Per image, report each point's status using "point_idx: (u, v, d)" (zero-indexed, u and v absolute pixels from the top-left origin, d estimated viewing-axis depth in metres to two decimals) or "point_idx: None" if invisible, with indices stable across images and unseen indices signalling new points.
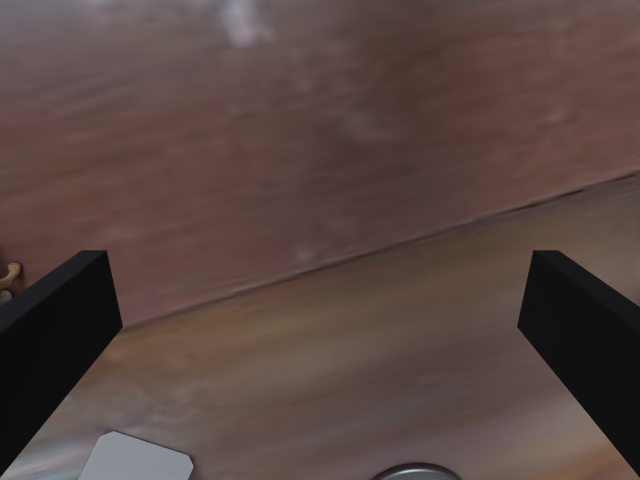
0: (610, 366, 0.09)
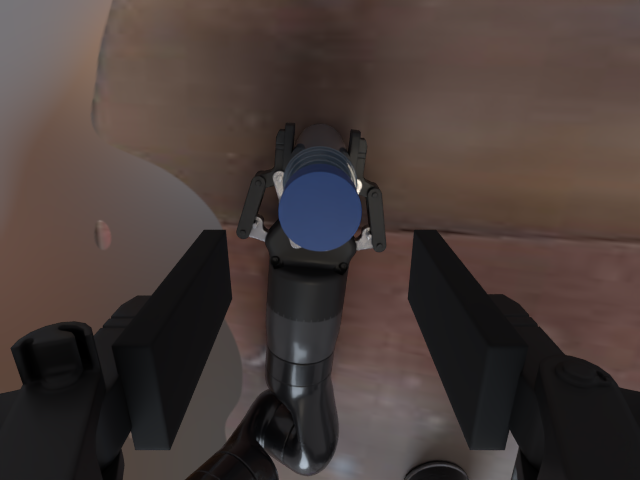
0: (442, 321, 0.10)
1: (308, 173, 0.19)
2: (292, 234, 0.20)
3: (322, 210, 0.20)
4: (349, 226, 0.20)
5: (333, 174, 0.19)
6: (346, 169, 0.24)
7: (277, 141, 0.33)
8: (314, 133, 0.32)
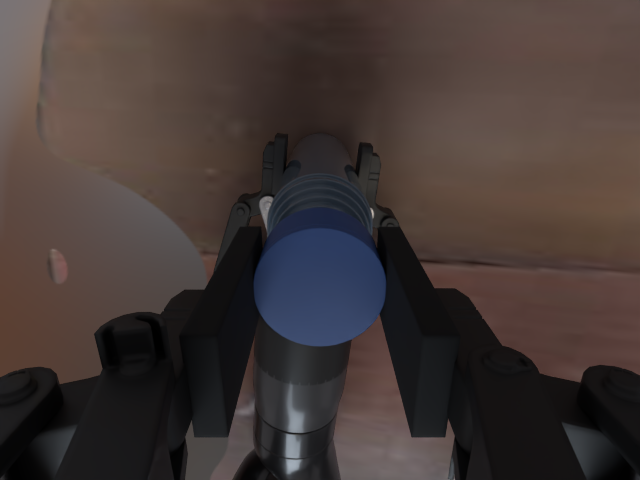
0: (395, 314, 0.11)
1: (300, 230, 0.12)
2: (276, 322, 0.13)
3: (323, 287, 0.12)
4: (366, 310, 0.13)
5: (341, 232, 0.12)
6: (358, 208, 0.16)
7: (264, 158, 0.25)
8: (312, 148, 0.24)
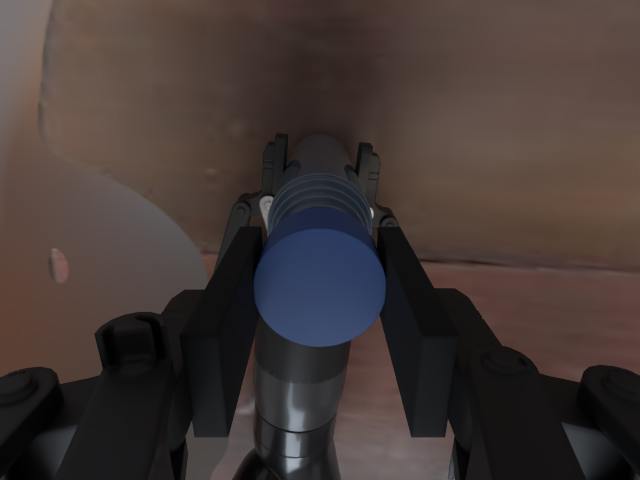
0: (395, 314, 0.11)
1: (284, 337, 0.13)
2: (376, 300, 0.12)
3: (314, 290, 0.12)
4: (305, 243, 0.12)
5: (260, 312, 0.13)
6: (358, 207, 0.16)
7: (265, 158, 0.25)
8: (312, 148, 0.24)
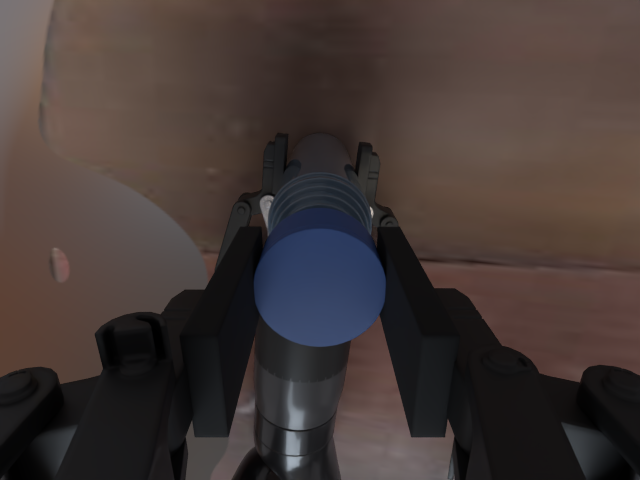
0: (394, 314, 0.11)
1: None
2: (289, 244, 0.12)
3: (323, 295, 0.12)
4: (290, 328, 0.13)
5: (376, 317, 0.13)
6: (357, 206, 0.17)
7: (265, 157, 0.26)
8: (312, 148, 0.24)
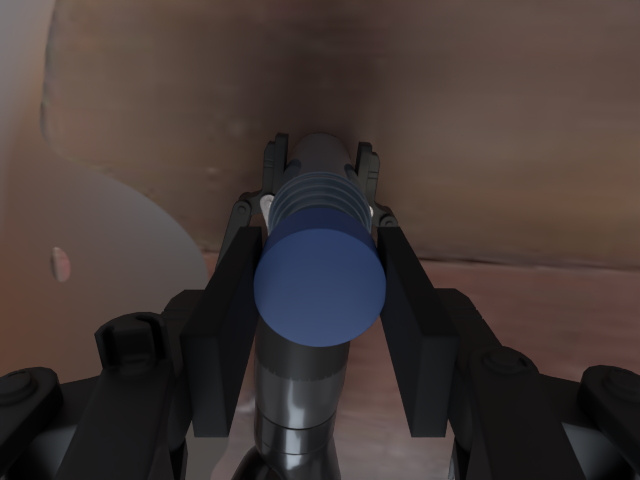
0: (395, 314, 0.11)
1: (269, 249, 0.12)
2: (301, 337, 0.13)
3: (321, 286, 0.12)
4: (373, 286, 0.12)
5: (304, 231, 0.12)
6: (357, 205, 0.17)
7: (265, 157, 0.26)
8: (312, 147, 0.24)
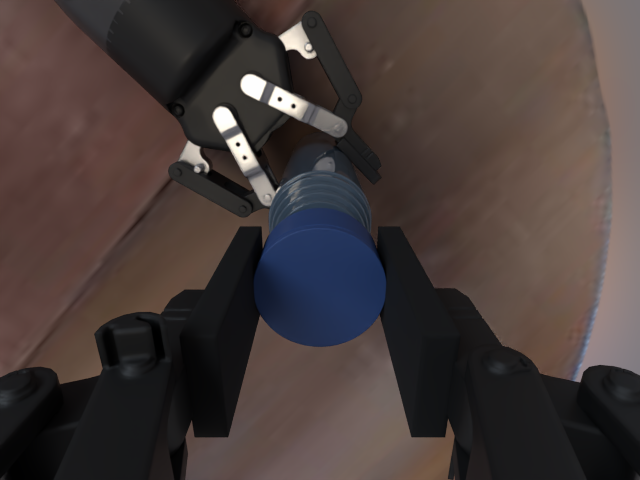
0: (395, 314, 0.11)
1: (269, 249, 0.12)
2: (301, 337, 0.13)
3: (321, 286, 0.12)
4: (373, 286, 0.12)
5: (304, 230, 0.12)
6: None
7: (373, 155, 0.26)
8: None
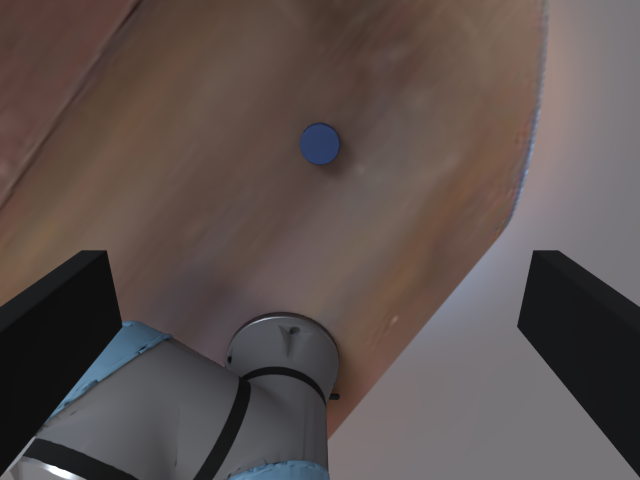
0: (610, 366, 0.09)
1: (305, 131, 0.42)
2: (314, 161, 0.43)
3: (320, 143, 0.42)
4: (335, 143, 0.42)
5: (315, 125, 0.41)
6: None
7: None
8: None
